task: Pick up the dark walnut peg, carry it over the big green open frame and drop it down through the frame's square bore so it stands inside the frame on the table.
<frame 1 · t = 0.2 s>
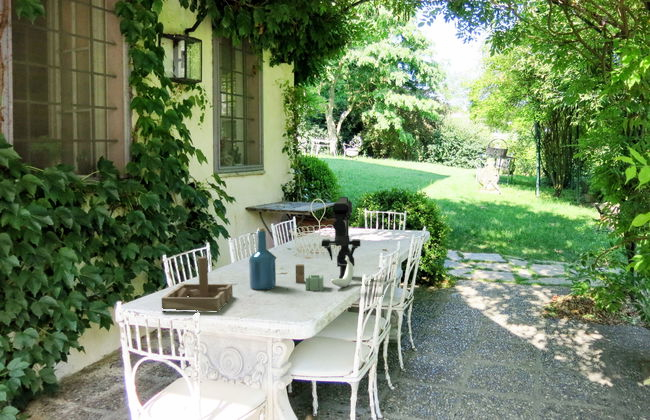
hand: (341, 260, 281), 14 cm above the table, tool pointing down, fingers open, 9 cm apart
crate frame: (199, 304, 258), on the table
wine bottle: (263, 287, 289), on the table
walnut peg: (300, 282, 300), on the table
banana: (343, 286, 289), on the table
green open frame: (314, 288, 285), on the table
wooden blocks: (199, 305, 258), on the table, touching crate frame
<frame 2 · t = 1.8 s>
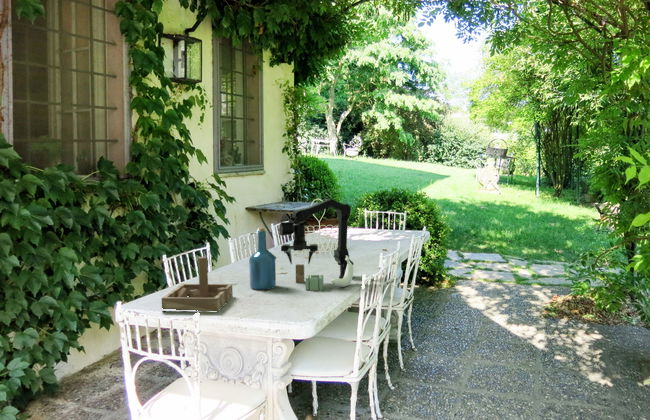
hand: (300, 264, 299), 10 cm above the table, tool pointing down, fingers open, 9 cm apart
nothing on the table moved.
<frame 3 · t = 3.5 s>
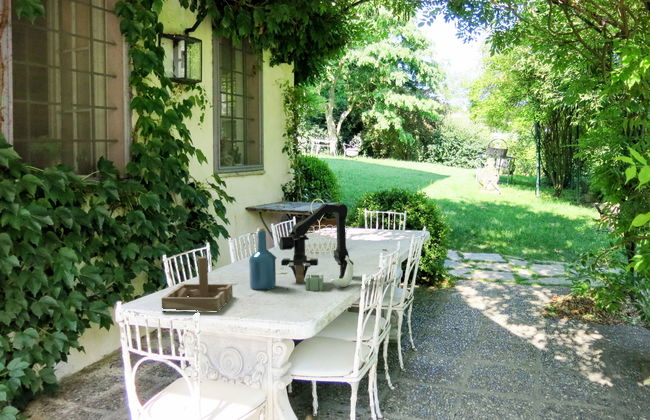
hand: (300, 278, 299), 2 cm above the table, tool pointing down, fingers closed on walnut peg, 4 cm apart
walnut peg: (300, 282, 300), on the table, touching gripper
everything else where it was.
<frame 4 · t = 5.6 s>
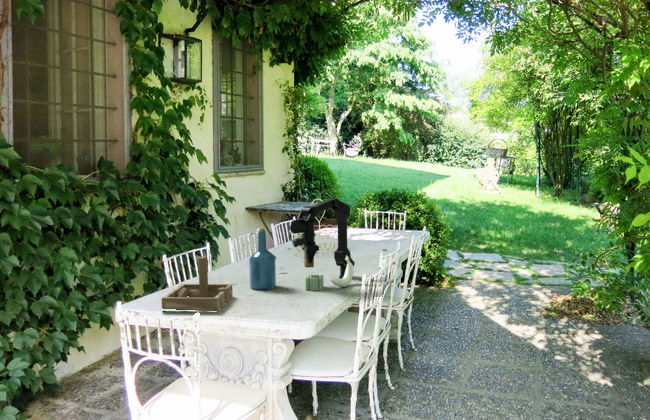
hand: (309, 262, 288), 12 cm above the table, tool pointing down, fingers closed on walnut peg, 4 cm apart
walnut peg: (309, 266, 288), point 10 cm above the table, touching gripper
everything else where it was.
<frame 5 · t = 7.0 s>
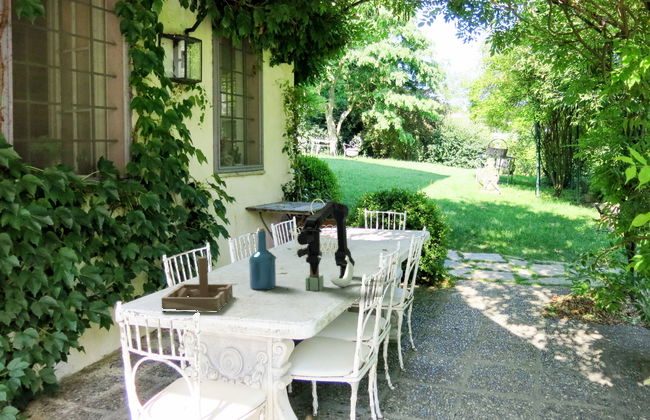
hand: (314, 273, 284), 7 cm above the table, tool pointing down, fingers closed on walnut peg, 4 cm apart
walnut peg: (314, 277, 285), point 5 cm above the table, touching gripper
everything else where it was.
when the fingers open (7 cm above the table, at t = 7.8 s): walnut peg drops 5 cm, on the table.
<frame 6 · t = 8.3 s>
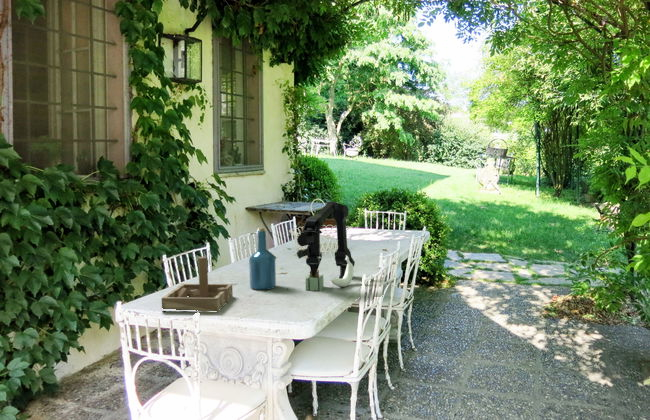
hand: (314, 274, 284), 7 cm above the table, tool pointing down, fingers open, 9 cm apart
walnut peg: (314, 288, 285), on the table
everything else where it was.
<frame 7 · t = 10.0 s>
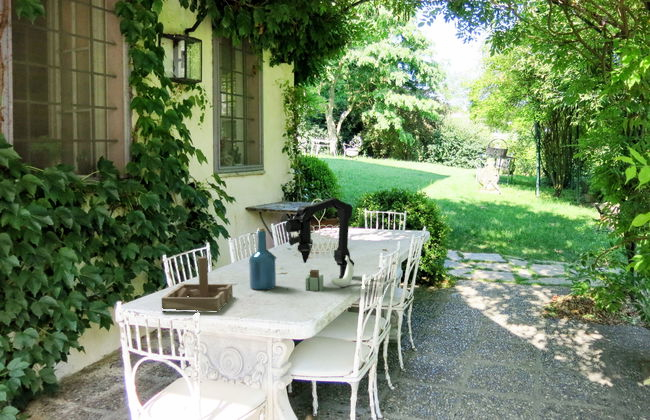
hand: (305, 261, 294), 12 cm above the table, tool pointing down, fingers open, 9 cm apart
nothing on the table moved.
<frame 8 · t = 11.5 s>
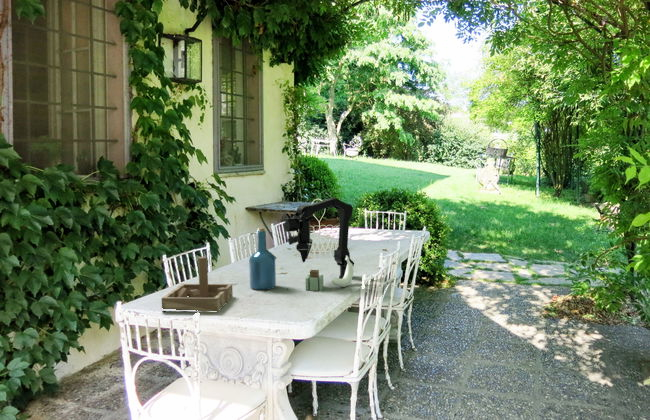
hand: (304, 260, 295), 12 cm above the table, tool pointing down, fingers open, 9 cm apart
nothing on the table moved.
at the end: walnut peg 0.1 cm from the green open frame (horizontally); walnut peg on the table; walnut peg tilted 0° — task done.
